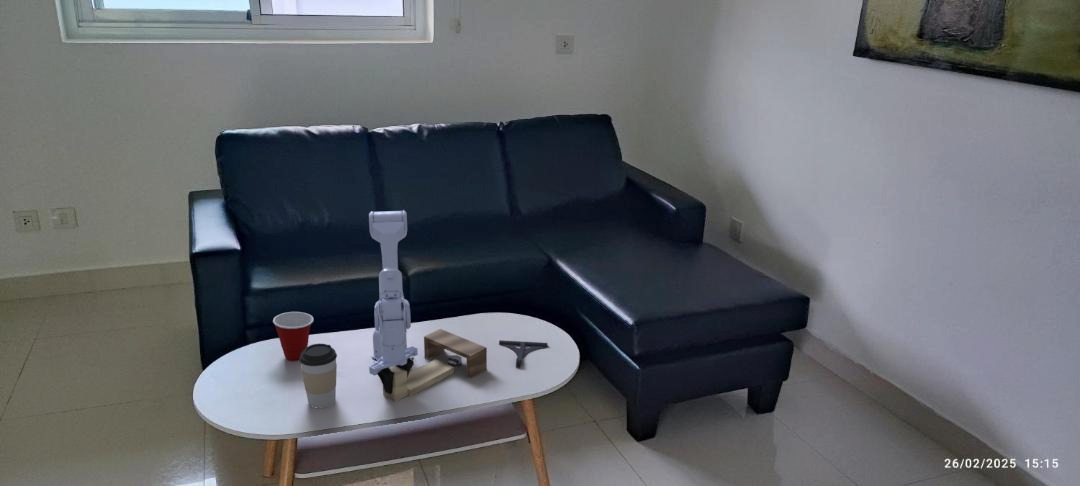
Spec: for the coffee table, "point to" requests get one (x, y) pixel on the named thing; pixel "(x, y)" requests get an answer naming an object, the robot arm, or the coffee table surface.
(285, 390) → the coffee table surface
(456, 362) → the steel puck
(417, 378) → the oak l-shaped block
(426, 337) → the walnut shelf
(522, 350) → the bracket
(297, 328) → the plastic cup
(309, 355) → the coffee cup
